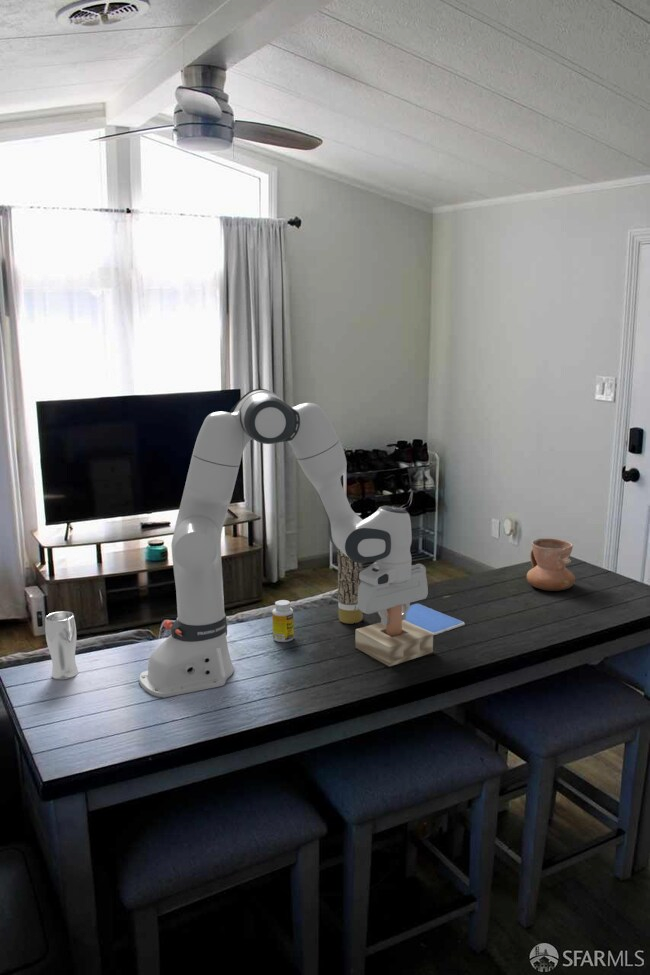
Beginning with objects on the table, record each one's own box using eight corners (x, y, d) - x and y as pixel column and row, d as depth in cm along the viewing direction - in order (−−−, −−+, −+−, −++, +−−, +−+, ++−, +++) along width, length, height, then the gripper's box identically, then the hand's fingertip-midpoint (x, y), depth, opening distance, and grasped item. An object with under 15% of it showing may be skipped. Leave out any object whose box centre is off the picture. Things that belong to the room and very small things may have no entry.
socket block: (389, 666, 194) (389, 647, 193) (355, 647, 205) (355, 629, 204) (432, 652, 202) (433, 633, 200) (397, 634, 213) (397, 617, 212)
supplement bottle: (288, 644, 208) (287, 607, 206) (269, 641, 210) (268, 604, 208) (297, 636, 213) (296, 600, 211) (278, 633, 215) (277, 597, 213)
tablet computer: (466, 626, 219) (466, 621, 219) (433, 637, 212) (433, 633, 212) (417, 606, 235) (417, 602, 234) (385, 617, 227) (385, 612, 227)
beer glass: (81, 667, 197) (76, 609, 194) (78, 679, 190) (72, 620, 187) (52, 669, 196) (46, 612, 193) (47, 682, 189) (41, 622, 186)
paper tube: (336, 623, 221) (334, 537, 216) (341, 614, 228) (340, 530, 222) (360, 625, 220) (359, 538, 214) (364, 616, 226) (364, 531, 221)
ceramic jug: (587, 592, 242) (589, 547, 239) (546, 598, 237) (548, 552, 235) (551, 576, 259) (553, 533, 256) (513, 581, 254) (514, 538, 251)
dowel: (392, 645, 200) (392, 607, 198) (382, 640, 203) (382, 603, 201) (404, 641, 202) (405, 604, 200) (395, 636, 206) (395, 599, 203)
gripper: (417, 559, 207) (417, 609, 210) (353, 574, 196) (354, 627, 199) (433, 565, 202) (433, 616, 205) (369, 581, 191) (369, 635, 194)
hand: (393, 621), depth 202 cm, fingers closed on dowel, 4 cm apart
